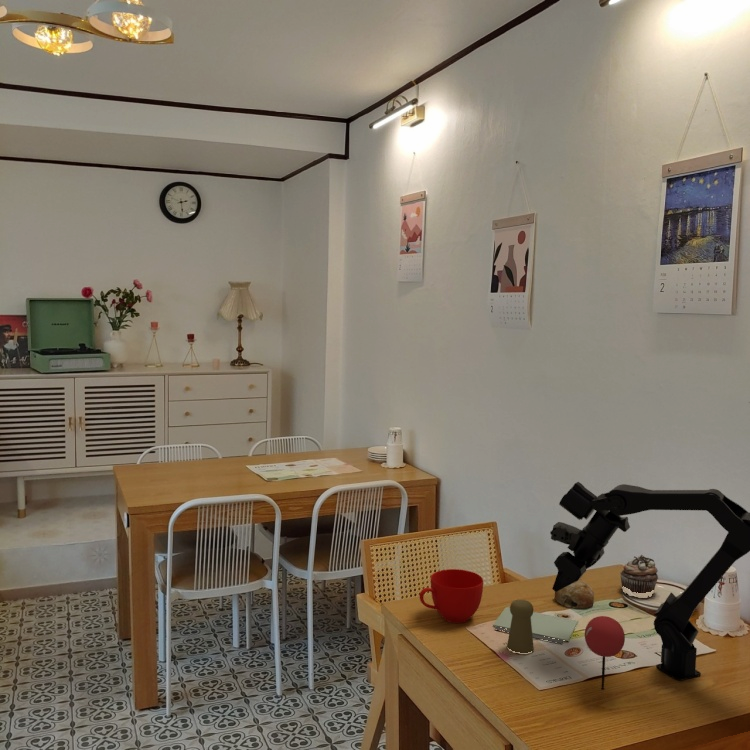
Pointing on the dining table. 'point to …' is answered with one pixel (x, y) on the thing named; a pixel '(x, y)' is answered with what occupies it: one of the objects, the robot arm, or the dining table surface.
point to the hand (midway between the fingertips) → (560, 584)
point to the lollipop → (604, 638)
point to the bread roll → (576, 595)
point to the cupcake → (639, 575)
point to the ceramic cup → (455, 594)
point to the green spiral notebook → (542, 624)
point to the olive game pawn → (521, 627)
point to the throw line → (534, 636)
